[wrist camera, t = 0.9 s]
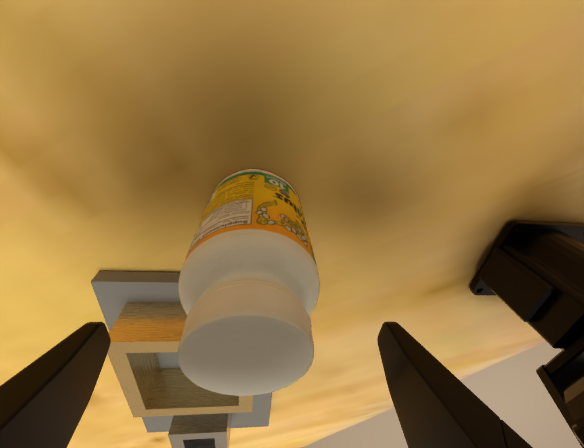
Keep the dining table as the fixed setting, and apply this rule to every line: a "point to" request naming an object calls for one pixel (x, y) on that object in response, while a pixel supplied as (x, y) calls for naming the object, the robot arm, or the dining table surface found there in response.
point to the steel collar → (200, 431)
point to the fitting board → (161, 288)
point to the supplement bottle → (249, 289)
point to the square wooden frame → (146, 370)
